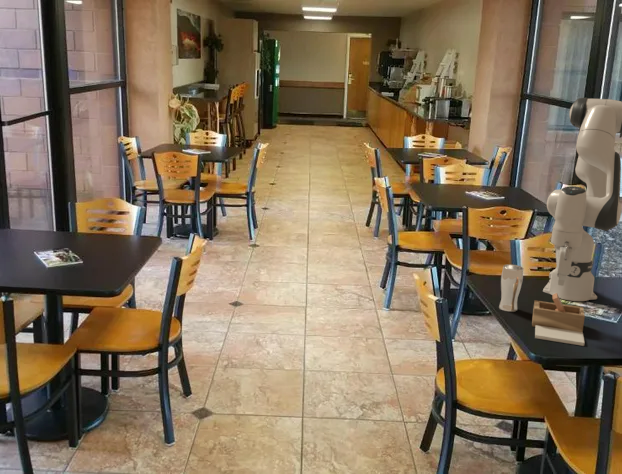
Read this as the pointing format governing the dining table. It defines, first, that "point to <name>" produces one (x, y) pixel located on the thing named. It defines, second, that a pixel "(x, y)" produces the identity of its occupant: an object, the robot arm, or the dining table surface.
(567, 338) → the mat
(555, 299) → the tile
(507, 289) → the beer glass
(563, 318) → the pocket block
